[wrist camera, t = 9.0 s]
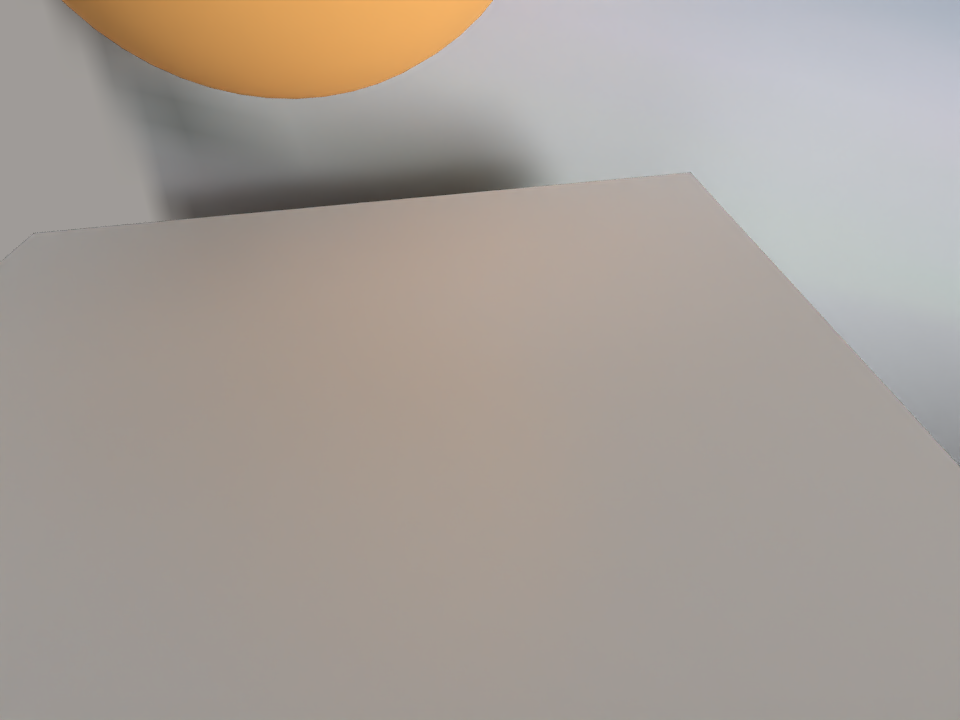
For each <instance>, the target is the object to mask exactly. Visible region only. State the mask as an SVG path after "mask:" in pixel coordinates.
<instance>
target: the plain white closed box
mask: <svg viewBox="0 0 960 720" xmlns="http://www.w3.org/2000/svg"><path fill="white" fill-rule="evenodd" d="M0 720H960V466H959V465H958V464H957V463H956V462H955V461H954V460H953V459H952V458H951V457H950V455H949V454H948V453H947V452H946V451H945V450H944V449H943V448H942V447H941V446H940V445H939V443H938V442H937V441H936V440H935V439H934V438H933V437H932V436H931V435H930V434H929V432H928V431H927V430H926V429H925V428H924V427H923V426H922V425H921V424H920V423H919V422H918V420H917V419H916V418H915V417H914V416H913V415H912V414H911V413H910V412H909V411H908V410H907V408H906V407H905V406H904V405H903V404H902V403H901V402H900V401H899V400H898V399H897V398H896V396H895V395H894V394H893V393H892V392H891V391H890V390H889V389H888V388H887V387H886V386H885V384H884V383H883V382H882V381H881V380H880V379H879V378H878V377H877V376H876V375H875V373H874V372H873V371H872V370H871V369H870V368H869V367H868V366H867V365H866V364H865V363H864V361H863V360H862V359H861V358H860V357H859V356H858V355H857V354H856V353H855V352H854V351H853V349H852V348H851V347H850V346H849V345H848V344H847V343H846V342H845V341H844V340H843V339H842V337H841V336H840V335H839V334H838V333H837V332H836V331H835V330H834V329H833V328H832V326H831V325H830V324H829V323H828V322H827V321H826V320H825V319H824V318H823V317H822V316H821V314H820V313H819V312H818V311H817V310H816V309H815V308H814V307H813V306H812V305H811V304H810V302H809V301H808V300H807V299H806V298H805V297H804V296H803V295H802V294H801V293H800V292H799V290H798V289H797V288H796V287H795V286H794V285H793V284H792V283H791V282H790V281H789V280H788V278H787V277H786V276H785V275H784V274H783V273H782V272H781V271H780V270H779V269H778V267H777V266H776V265H775V264H774V263H773V262H772V261H771V260H770V259H769V258H768V257H767V255H766V254H765V253H764V252H763V251H762V250H761V249H760V248H759V247H758V246H757V245H756V243H755V242H754V241H753V240H752V239H751V238H750V237H749V236H748V235H747V234H746V233H745V231H744V230H743V229H742V228H741V227H740V226H739V225H738V224H737V223H736V222H735V220H734V219H733V218H732V217H731V216H730V215H729V214H728V213H727V212H726V211H725V210H724V208H723V207H722V206H721V205H720V204H719V203H718V202H717V201H716V200H715V199H714V198H713V196H712V195H711V194H710V193H709V192H708V191H707V190H706V189H705V188H704V187H703V186H702V184H701V183H700V182H699V181H698V180H697V179H696V178H695V177H694V176H693V175H692V174H691V172H689V173H678V174H667V175H657V176H646V177H635V178H624V179H613V180H603V181H592V182H581V183H570V184H559V185H548V186H538V187H527V188H516V189H505V190H494V191H484V192H473V193H462V194H451V195H440V196H429V197H419V198H408V199H397V200H386V201H375V202H365V203H354V204H343V205H332V206H321V207H310V208H300V209H289V210H278V211H267V212H256V213H246V214H235V215H224V216H213V217H202V218H191V219H181V220H170V221H159V222H149V223H138V224H127V225H116V226H105V227H95V228H84V229H73V230H62V231H51V232H40V233H33V234H32V235H31V236H30V237H29V238H27V239H26V240H25V241H24V242H23V243H22V244H21V245H19V246H18V247H17V248H16V249H15V250H14V251H12V252H11V253H10V254H9V255H8V256H7V257H5V259H3V260H2V261H1V262H0Z"/></svg>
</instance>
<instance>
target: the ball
mask: <svg viewBox="0 0 960 720" xmlns="http://www.w3.org/2000/svg"><path fill="white" fill-rule="evenodd" d="M62 1H63V2H64V3H65V4H66V5H67V6H68V7H69V8H71V9H72V10H73V11H74V12H75V13H77V14H78V15H79V16H80V17H81V18H82V19H84V20H85V21H86V22H87V23H88V24H89V25H91V26H92V27H93V28H94V29H95V30H97V31H98V32H100V33H101V34H103V35H104V36H106V37H107V38H108V39H110V40H111V41H113V42H114V43H116V44H117V45H118V46H120V47H121V48H123V49H125V50H126V51H128V52H130V53H132V54H133V55H135V56H137V57H139V58H140V59H142V60H144V61H146V62H148V63H149V64H151V65H153V66H156V67H158V68H160V69H162V70H165V71H167V72H169V73H171V74H174V75H176V76H178V77H180V78H183V79H186V80H189V81H192V82H195V83H198V84H201V85H204V86H207V87H210V88H214V89H219V90H223V91H227V92H232V93H236V94H241V95H249V96H257V97H265V98H287V99H300V98H313V97H325V96H331V95H336V94H342V93H347V92H352V91H355V90H359V89H362V88H365V87H369V86H372V85H375V84H378V83H381V82H383V81H385V80H388V79H390V78H392V77H395V76H397V75H399V74H401V73H404V72H405V71H407V70H409V69H410V68H412V67H414V66H416V65H417V64H419V63H421V62H423V61H424V60H426V59H428V58H429V57H431V56H433V55H434V54H436V53H438V52H439V51H440V50H442V49H443V48H444V47H445V46H447V45H448V44H449V43H451V42H452V41H453V40H455V39H456V38H457V37H459V36H460V35H461V34H462V33H463V32H464V31H465V30H466V29H467V28H468V27H469V26H470V25H471V24H472V23H473V22H474V21H475V20H476V19H478V18H479V17H480V16H481V15H482V13H483V12H484V11H485V10H486V8H487V7H488V6H489V5H490V3H491V2H492V1H493V0H62Z"/></svg>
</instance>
